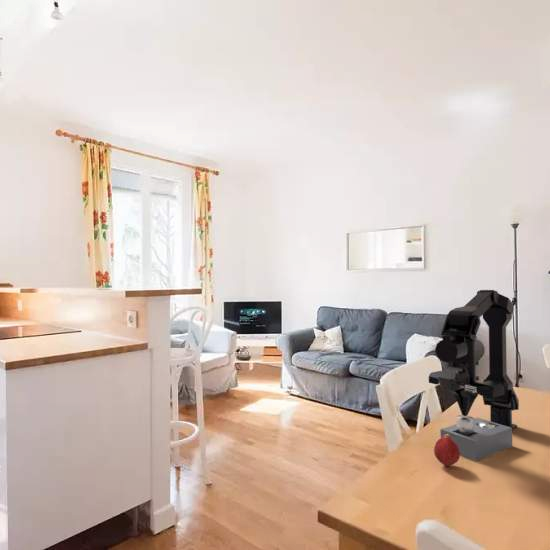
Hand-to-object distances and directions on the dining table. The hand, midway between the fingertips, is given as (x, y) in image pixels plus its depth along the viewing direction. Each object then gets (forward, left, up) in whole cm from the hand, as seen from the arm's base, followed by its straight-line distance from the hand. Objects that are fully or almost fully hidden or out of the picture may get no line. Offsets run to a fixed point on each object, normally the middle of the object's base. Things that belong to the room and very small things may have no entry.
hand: (464, 415), depth 107 cm
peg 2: (-10, 0, -9) cm, 14 cm away
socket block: (-5, 0, -10) cm, 11 cm away
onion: (+12, +3, -10) cm, 16 cm away
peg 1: (0, 0, -6) cm, 6 cm away
